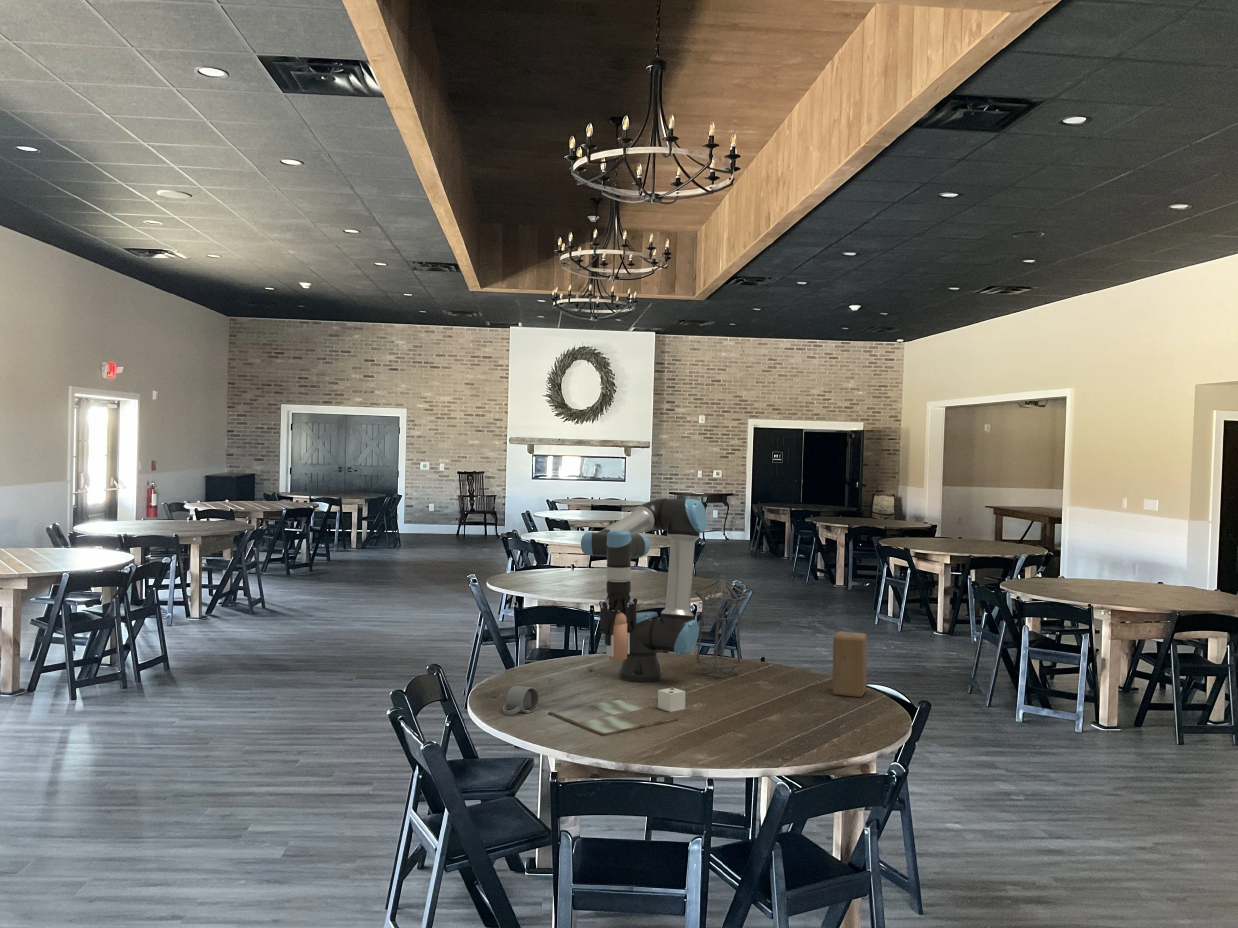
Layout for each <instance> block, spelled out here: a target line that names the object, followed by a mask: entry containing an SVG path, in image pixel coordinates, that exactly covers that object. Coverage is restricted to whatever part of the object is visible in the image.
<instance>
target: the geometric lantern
mask: <svg viewBox="0 0 1238 928" xmlns="http://www.w3.org/2000/svg"><path fill="white" fill-rule="evenodd" d="M719 585H720V589H718V588H719ZM707 588H709V589H708V590H707V591H706V592H702V591H704V590H705V589H707ZM735 590H736V591H738V592H740V593H741V594H737V593H736V591H735ZM718 592H720V597H718V596H717V594H718ZM727 594H728V595H727ZM693 595H696V596H697V597H698V598H699V599H700V600H701V602H702V603H703V606H702V609H701V614H700V626H699V635H698V645H697V652H696V662H697V664H699V666H700V667H701V668H702V675H705V676H709V677H714V678H717V679H718V678H726V677H729V676H732V675H733V670H734V669H736V668H738V667H739V666H741V640H740V639H741V630H740V629H741V616H740V611H739V605H740V604H741V603H743V602H744V601H745V600H747V599H748V598H749V594H747V593H745V592H744V591H742V590H741V589H739V588H738V587H736V586H734V584H732V583H731V582H728V581H727V580H725V579H720V578H719V579H718V580H716V581H715V582H714V581H713V583H711V584H708V585H706V586H704V587H702V588H700V589H699V590H696V591H694V592H693ZM708 595H709V596H708ZM723 595H724V598H723ZM716 596H717V597H716ZM733 597H734V598H733ZM706 598H707V599H706ZM713 600H715V601H713ZM721 600H726V601H727V604H726V605H725V607H724V609H723V610H722V611H720V610H719V609H718V607H717V605H716V603H717V602H720V601H721ZM707 602H708V603H707ZM733 603H734V605H733ZM707 606H710V607H711V610H712V612H705V610H706V607H707ZM713 606H714V607H715V608H716V611H715V609H714V607H713ZM728 606H729V609H728V610H727V611H726V609H727V608H728ZM735 607H736V614H732V613H728V612H729V611H730V609H731V608H735ZM725 611H726V612H725ZM711 614H714V615H715V617H714V616H710V615H711ZM720 614H721V617H719V615H720ZM726 615H728V616H732V617H727V618H726ZM733 616H734V617H733ZM704 617H707V618H709V619H714V620H716V625H715V632H714V633H715V634H714V645H713V654H712V656H709V657H702V658H700V653H701V652H700V649H701V641H702V639H701V638H702V629H703V626H704V625H703V624H704V623H703V622H704ZM731 619H737V634H738V635H737V636H738V638H737V639H738V640H737V644H738V645H737V647H738V648H737V660H735V659H730V658H725V620H731ZM720 621H721V627H720ZM719 628H721V630H720V629H719ZM719 630H720V653H719V654H720V656H718V644H719ZM709 659H712V661H713V664H710V663H706V662H704V661H703V660H709ZM725 660H726V661H730V662H734V663H735V664H728V665H727V664H726V665H725ZM720 661H721V663H722V665H719V662H720ZM702 664H703V665H706V666H705V667H704V666H703V665H702ZM711 667H713V669H710V668H711ZM718 668H719V669H720V668H721V669H720V670H718ZM715 669H716V670H715ZM723 669H727V670H723ZM705 670H707V671H705ZM712 672H714V673H717V676H716V675H711V674H708V673H712ZM719 673H720V674H719ZM722 673H723V674H726V675H722ZM719 675H720V676H719Z"/></svg>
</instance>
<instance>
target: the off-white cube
mask: <svg viewBox="0 0 1238 928" xmlns="http://www.w3.org/2000/svg"><path fill="white" fill-rule="evenodd" d="M657 708H658V709H661V710H663V711H667V712H670V713H672V712H676V711H677V712H678V711H681V710H686V691H685V690H683V689H682V690H681V689H678V688H675V687H670V688H662V689H658V690H657Z"/></svg>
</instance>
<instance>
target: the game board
mask: <svg viewBox="0 0 1238 928" xmlns="http://www.w3.org/2000/svg"><path fill="white" fill-rule="evenodd" d="M587 706H588V707H591V708H594V709H596V710H599V711H601V712H604V713H606V714H609V715H610V716H605V717H600V718H594V719H590V720H585V721H579V722H578V721H575V720H573V719H570V718H567V717H565V716H562V715H560V714H557V713H554V712H552V711H549V712H547V714H548V715H549V714H550V716H552V715H553V716H552V717H554V716H555V717H554V718H557V719H559V720H562V721H565V722H567V723H570V724H572V725H575V726H577V727H579V728H582V729H585V730H587V731H589V732H592V733H594V734H597V735H600V736H601V737H606V736H610V735H614V734H615V735H616V734H618V733H625V732H630V731H634V730H640V729H644V728H649V727H654V726H658V725H664V724H667V723H672V722H678V721H679V718H677V717H673V718H668V719H664V720H659V721H655V722H650V723H644V724H640V725H639V724H636V723H633V722H630V721H628V720H626V719H621V718H619V717H616V716H614V715H620V714H624V713H628V712H629V713H630V712H635V711H639V710H644V709H645V710H646V709H647V708H646V707H645V706H644V707H643V706H641V705H638V704H635V703H631V702H628V701H625V700H624V699H617V700H610V701H606V702H600V703H599V702H598V703H594V704H588V705H587Z"/></svg>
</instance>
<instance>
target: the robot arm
mask: <svg viewBox="0 0 1238 928" xmlns="http://www.w3.org/2000/svg"><path fill="white" fill-rule="evenodd" d="M706 511H707V510H706V508H705V506H704V504H703V503H702V501H700V500H698V499H692V498H666V497H665V498H664V497H662V498H656V499H652V500H649V501H647V502H645V503H642V504H640V505H638V506H637V507H635V508H633V510H632V511H631V513H630V514H628V515H627V516H624V517H623V518H621V519H619V520H617V521H616V522H614V523H612V524H609V526H607V527H605V528H603V529H602V530H600V531H598V532H593V531H592V532H591V531H590V532H585V533H584V534H583V535H582V537H581V540H580V546H581V547H580V549H581V551H582V553H583V554H584V555H585V556H592V557H606V579H607V581H606V593H607V596H606V599H604V600H603V601H599V602H598V604H599V605H598V606H599V627H598V628H599V631H598V633H601V634H603V635H604V644H605V646H606V655H605V656H608V657H609V656H611V657H613V656H614V635H611V634H612V630H613V626H614V622H615V617H616V614H617V613H618V612H622V613H624V614H625V616H626V619H627V621H626V623H627V659H625V660H621V661H622V662H621V666H620V669H619V670H618V671H619V673H618V677H620V678H619V679H621V678H622V679H621V680H623V679H625V680H624V681H626V680H629V681H628V682H633V681H636V682H637V683H647V682H648V683H649V682H656V681H659V680H661V679H662V670H661V666H660V663H659V659H658V657H657V656H658V655H657V653H658V651H660V652H669V653H675V654H688V653H689V654H690V652H692V651H693V650H694V648H695V647H696V644H697V642H698V641H699V636H700V626H699V623H698V621H696V620H694V617H695V615H694V614H693V612H692V611H691V599H692V585H693V571H694V561H695V559H694V558H695V547H696V545H695V544H696V542H697V540H699V539H700V534H702V533H704V532H705V530H706V528H707V525H708V517H707V512H706ZM650 531H664V532H665V531H666V536H667V537H668V539H669V540H670V547H669V548H670V549H669V558H668V559H669V560H668V571H667V572H668V573H667V585H666V586H667V588H666V596H665V597H666V598H665V608H664V609H662V610H661V612H660V616H659V615H658V612H657V611H643V612H637V603H638V598H635V597H631V595H630V593H631V590H632V589H631V587H632V585H631V579H632V578H631V577H632V576H631V575H632V574H631V571H632V569H631V566H632V563H631V562H632V561H631V560H632V559H633V560H634V559H640V558H642V557H645V556H646V555H647V554H648V553H649V551H650V548H651V547H650V546H651V544H650V540H649V539H648V537H647V536H645V534H641V533H647V532H648V533H649V532H650ZM658 616H659V617H658ZM636 682H635V683H636Z"/></svg>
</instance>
